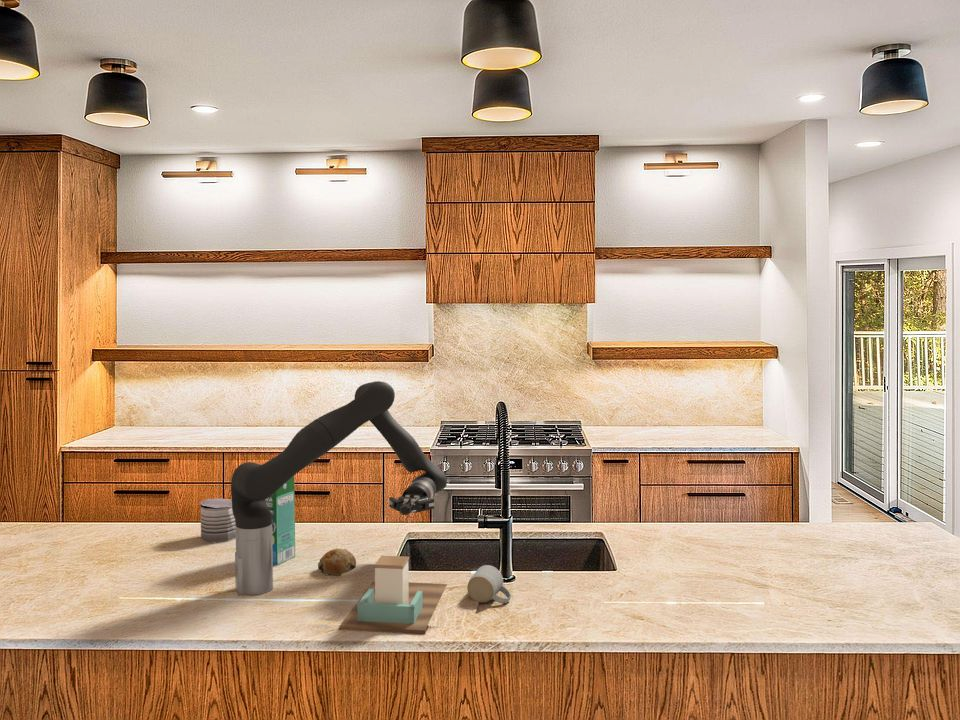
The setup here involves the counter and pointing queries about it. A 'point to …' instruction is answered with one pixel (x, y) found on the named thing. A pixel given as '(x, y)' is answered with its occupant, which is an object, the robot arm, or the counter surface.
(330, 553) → the bread roll
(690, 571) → the counter surface
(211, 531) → the can
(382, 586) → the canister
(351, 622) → the board
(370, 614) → the dock
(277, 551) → the milk carton
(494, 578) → the ceramic mug
